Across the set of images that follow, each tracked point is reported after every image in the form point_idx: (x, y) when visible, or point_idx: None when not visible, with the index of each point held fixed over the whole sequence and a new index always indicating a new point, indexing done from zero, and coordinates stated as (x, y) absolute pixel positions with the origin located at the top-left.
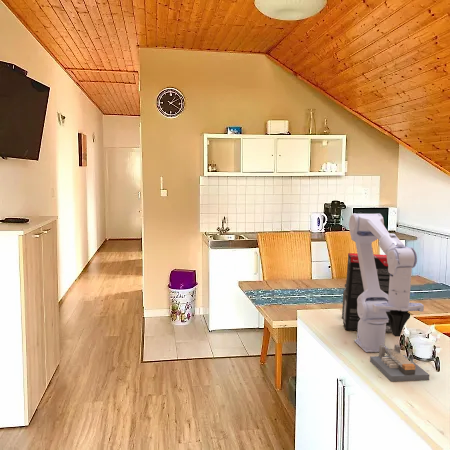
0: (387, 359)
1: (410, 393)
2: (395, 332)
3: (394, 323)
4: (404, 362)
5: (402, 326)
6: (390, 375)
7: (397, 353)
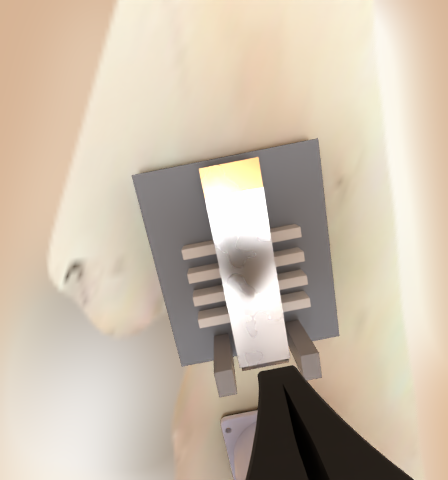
0: (293, 283)
1: (263, 29)
2: (312, 391)
3: (397, 475)
4: (244, 208)
5: (269, 448)
6: (318, 148)
7: (243, 316)
